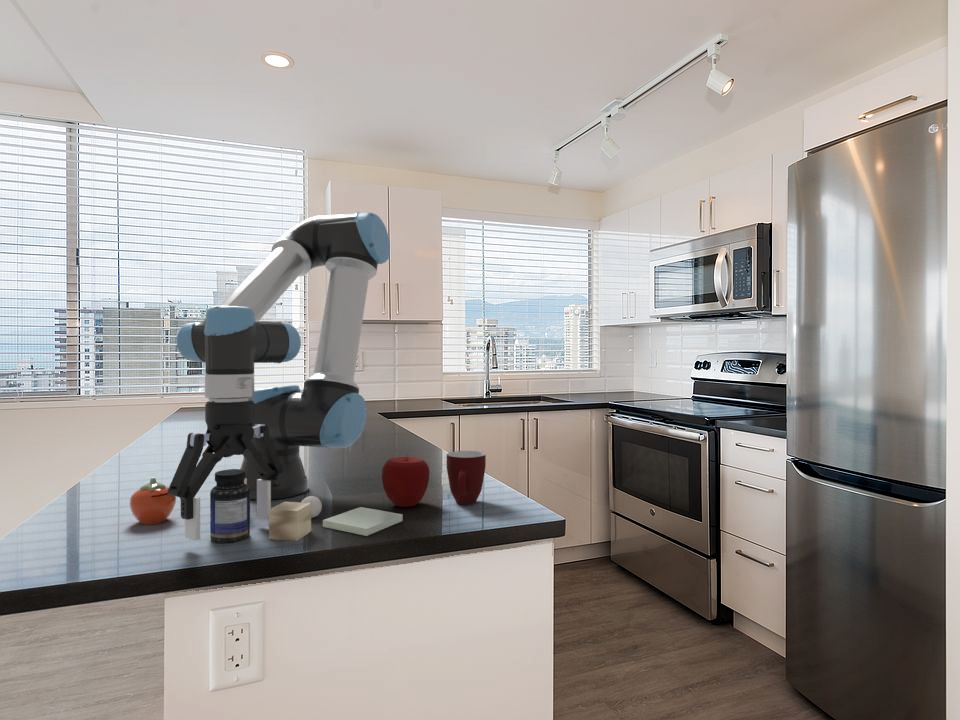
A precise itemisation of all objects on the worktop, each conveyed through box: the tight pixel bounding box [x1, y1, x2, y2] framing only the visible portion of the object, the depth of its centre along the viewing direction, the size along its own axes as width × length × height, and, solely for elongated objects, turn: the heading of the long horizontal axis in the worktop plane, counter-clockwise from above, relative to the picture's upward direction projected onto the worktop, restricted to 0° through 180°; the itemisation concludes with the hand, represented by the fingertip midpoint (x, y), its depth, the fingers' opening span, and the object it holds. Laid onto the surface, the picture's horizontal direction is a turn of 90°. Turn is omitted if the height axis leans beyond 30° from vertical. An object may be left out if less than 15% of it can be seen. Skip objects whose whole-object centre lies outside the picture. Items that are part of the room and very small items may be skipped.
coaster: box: [322, 506, 404, 537], centre depth 104 cm, size 10×10×1 cm
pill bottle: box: [209, 468, 251, 544], centre depth 96 cm, size 6×6×11 cm
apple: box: [381, 454, 430, 508], centre depth 117 cm, size 10×10×10 cm
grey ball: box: [300, 495, 323, 519], centre depth 108 cm, size 4×4×4 cm
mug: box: [446, 450, 487, 506], centre depth 118 cm, size 11×8×10 cm
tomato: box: [129, 477, 177, 526], centre depth 105 cm, size 7×7×8 cm
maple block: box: [268, 501, 312, 542], centre depth 98 cm, size 5×5×5 cm
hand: (230, 527), depth 96 cm, fingers open, 13 cm apart
